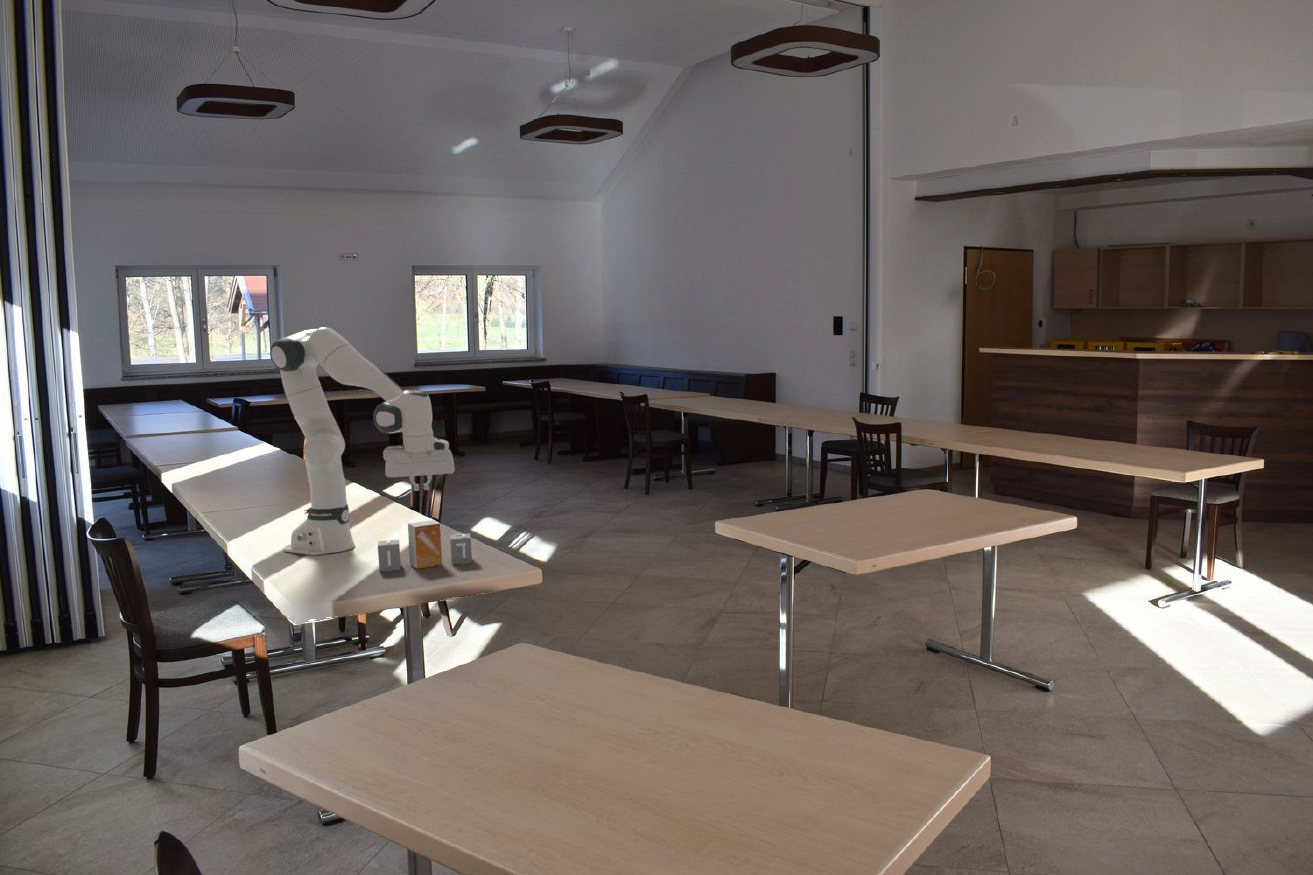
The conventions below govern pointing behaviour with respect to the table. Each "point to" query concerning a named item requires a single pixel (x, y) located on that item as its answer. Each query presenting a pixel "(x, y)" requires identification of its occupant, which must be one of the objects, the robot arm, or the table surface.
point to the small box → (424, 544)
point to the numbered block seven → (460, 548)
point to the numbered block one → (389, 555)
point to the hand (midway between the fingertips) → (421, 490)
